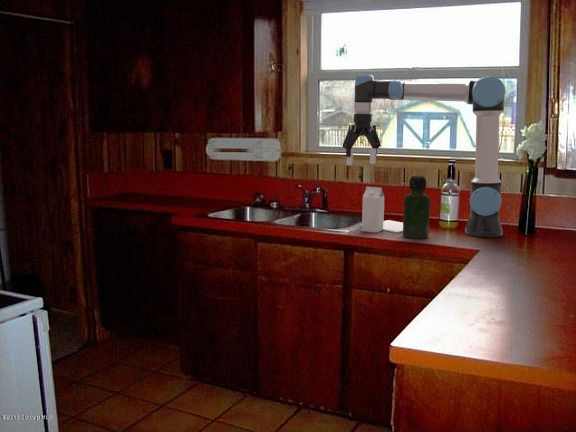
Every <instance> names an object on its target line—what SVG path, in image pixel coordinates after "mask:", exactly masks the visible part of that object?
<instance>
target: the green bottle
mask: <svg viewBox="0 0 576 432" xmlns="http://www.w3.org/2000/svg"><path fill="white" fill-rule="evenodd" d="M408 182H409V186H408V187H409V191H410V192H411V193H407V194H406V195H405V196H404V198H403V217H402V220H403V221H402V223H403V232H402V236H403V237H404V238H408V239H413V240H421V239H426V238H427V239H428V238H429V231H430V228H429V227H430V213H431V212H430V209H431V208H430V207H431V199H430V196H429V195H428V194H425V193H424V192H425V191H426V189H427V178H426V177H425V176H424V175H423V176H422V175H412V176H411V177H410V178H409V180H408Z"/></svg>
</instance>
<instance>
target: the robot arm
mask: <svg viewBox="0 0 576 432" xmlns="http://www.w3.org/2000/svg"><path fill="white" fill-rule="evenodd" d="M354 80H355V81H354V100H353V101H354V102H353V103H354V104H353V106H354V107H353V112H354V114H353V122H354V124H349V125H348V130H347V133H346V135H345V137H344V140H343V143H342V148H344V149H345V157H346V165H348V166H353V161H354V158H353V157H354V149H353V147H354V145H355V143H356V142H357V140H358V139H359V137H365V138H366V140H367V141H368V143H369V145H370V150H369V164H372V165H376V163H377V162H376V159H377V155H378V153H377V152H378V149H380V147H381V141H380V138H379V135H378V131H377V125H376V124H371V123H372V121H373V114H372V112H373V100H377V99H382V100H390V101H396V100H397V101H431V102H432V101H434V102H438V101H439V102H464V103H466V104H467V105H472V113H473V114H474V115H475V116H476V122H475V158H474V159H475V162H474V163H475V164H474V167H475V168H474V177H473V179H470V180H471V181H470V197H469V204H470V205H469V206H470V213H469V214H470V215H469V218H468V220H467V222H466V225H465V228H464V233H465V234H466V235H468V236H472V237H478V238H499V237H502V236H503V231H504V230H503V227H502V223H501V219H500V208H501V206H502V201H503V199H502V189H503V188H502V180H501V179H500V178H499V176H498V172H499V146H500V145H499V143H500V140H499V139H500V116H501V115H502V114H503V113H504V110H505V108H504V107H505V94H506V87H505V84H504V82H503V80H501V79H500V78H499V77H496V76H494V75H487V76H486V75H485V76H483V77H480V78H478V79H476V80H475V79H474V80H468V81H467V82H437V81H436V82H429V81H428V82H423V81H422V82H421V81H402V80H400V79H399V80H398V79H381V80H380V79H379V80H377V79H374V75H371V74H370V75H369V74H360V75H359V74H358V75H356V76H355V77H354Z"/></svg>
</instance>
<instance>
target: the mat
mask: <svg viewBox="0 0 576 432" xmlns="http://www.w3.org/2000/svg"><path fill="white" fill-rule="evenodd" d="M359 226H360V227H362V223H361V224H359ZM382 231H385V232H389V233H394V234H399V233H400V232H401V233H403V221H401V222H400V221H395V220H391V219H388V220H384V223H383V230H382ZM401 233H400V234H401Z"/></svg>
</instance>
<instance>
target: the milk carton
mask: <svg viewBox="0 0 576 432" xmlns="http://www.w3.org/2000/svg"><path fill="white" fill-rule="evenodd" d="M361 208H362V209H361V210H362V211H361V213H362V214H361V215H362V216H361V224H362V226H361V231H362V232H366V233H367V232H369V233H379V232H381V231H384V230H383V223H384V221H385V220H384V217H385V213H384V212H385V195H384V192H383V187H377V186H375V187H374V186H365V191H364V193H363V195H362V207H361Z"/></svg>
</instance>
